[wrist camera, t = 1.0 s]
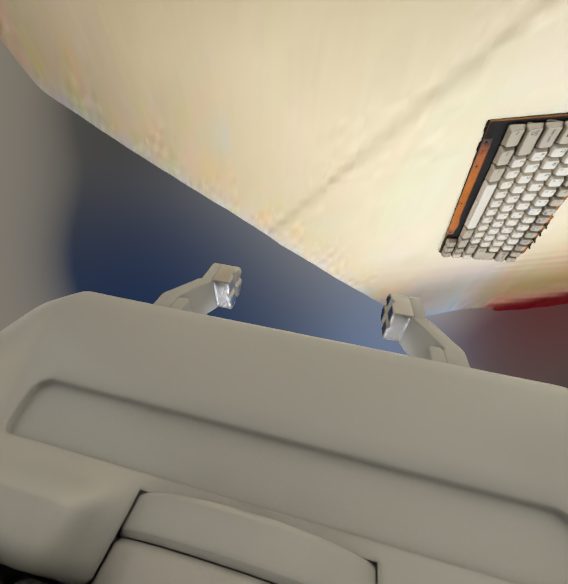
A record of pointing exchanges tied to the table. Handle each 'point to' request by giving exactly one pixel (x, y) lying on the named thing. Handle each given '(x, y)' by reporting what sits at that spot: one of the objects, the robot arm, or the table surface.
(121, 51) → the table surface
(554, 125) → the mechanical keyboard
